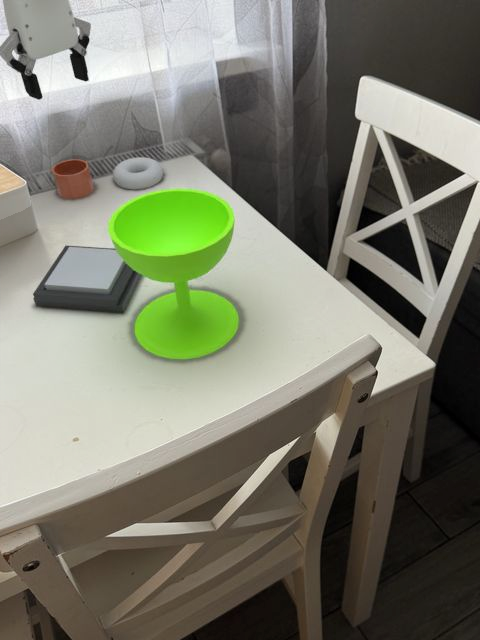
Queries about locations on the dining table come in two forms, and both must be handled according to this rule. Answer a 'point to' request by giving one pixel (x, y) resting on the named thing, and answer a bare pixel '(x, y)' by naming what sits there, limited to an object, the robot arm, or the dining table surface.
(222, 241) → the wineglass
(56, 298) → the scale
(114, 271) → the grey square slab
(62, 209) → the dining table surface
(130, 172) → the donut
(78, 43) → the robot arm
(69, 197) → the cup
